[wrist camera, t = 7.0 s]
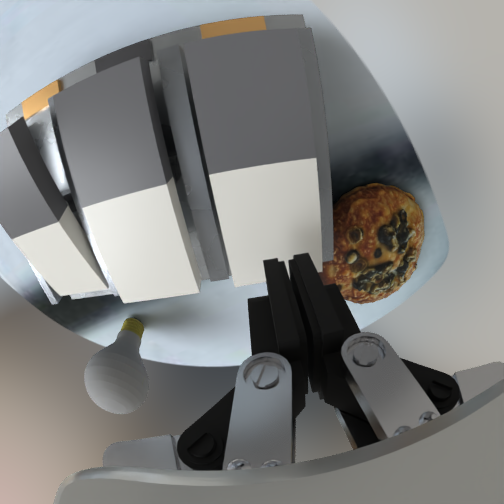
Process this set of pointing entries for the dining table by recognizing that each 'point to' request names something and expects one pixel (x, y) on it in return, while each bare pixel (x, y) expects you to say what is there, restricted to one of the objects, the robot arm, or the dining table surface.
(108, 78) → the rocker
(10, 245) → the dining table surface
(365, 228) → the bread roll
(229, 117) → the rocker
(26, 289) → the dining table surface
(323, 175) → the switch box
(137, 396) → the light bulb
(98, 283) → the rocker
